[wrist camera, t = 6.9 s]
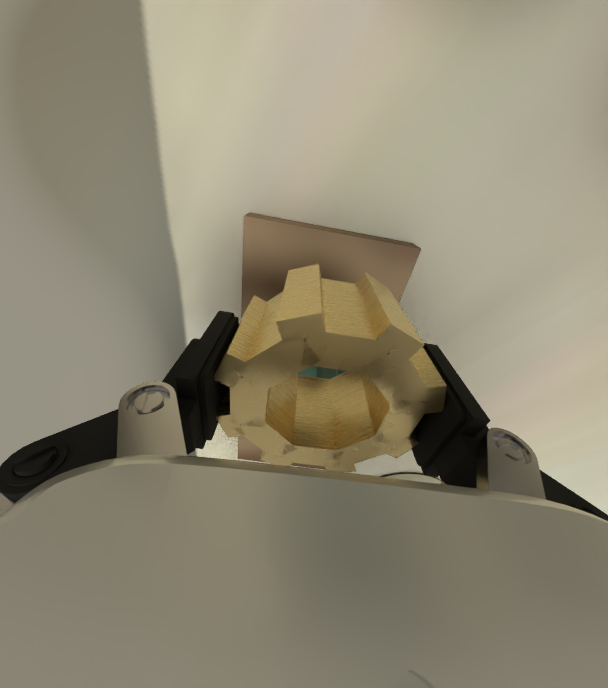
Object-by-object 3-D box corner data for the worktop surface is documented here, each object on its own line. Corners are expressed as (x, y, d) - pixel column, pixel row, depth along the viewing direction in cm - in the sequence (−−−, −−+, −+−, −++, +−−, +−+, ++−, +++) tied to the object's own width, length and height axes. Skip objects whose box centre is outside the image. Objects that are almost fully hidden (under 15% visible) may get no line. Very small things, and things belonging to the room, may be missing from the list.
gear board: (328, 458, 31) (331, 517, 26) (240, 446, 31) (225, 505, 25) (413, 243, 17) (460, 276, 11) (249, 212, 16) (216, 231, 11)
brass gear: (373, 408, 14) (391, 481, 11) (240, 390, 14) (217, 460, 10) (434, 283, 10) (495, 340, 7) (244, 250, 9) (206, 294, 6)
